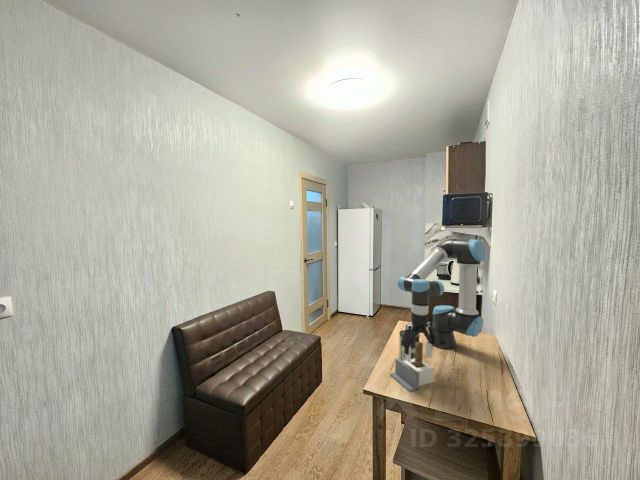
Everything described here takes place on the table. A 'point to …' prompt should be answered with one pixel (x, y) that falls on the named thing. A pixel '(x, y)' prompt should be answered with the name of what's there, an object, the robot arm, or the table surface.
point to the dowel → (418, 354)
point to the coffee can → (412, 346)
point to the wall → (406, 376)
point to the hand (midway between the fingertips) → (418, 358)
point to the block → (423, 372)
